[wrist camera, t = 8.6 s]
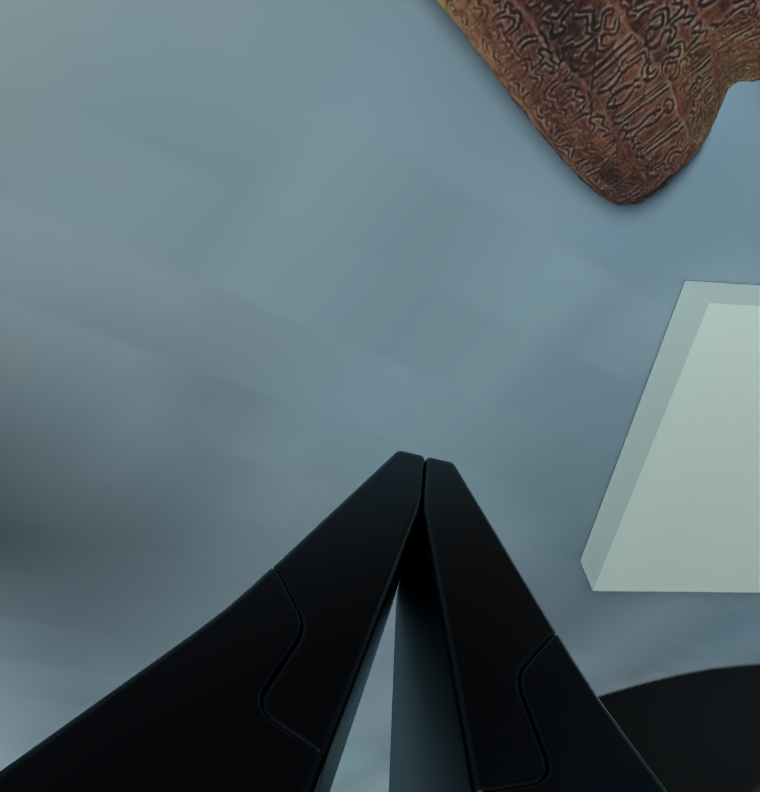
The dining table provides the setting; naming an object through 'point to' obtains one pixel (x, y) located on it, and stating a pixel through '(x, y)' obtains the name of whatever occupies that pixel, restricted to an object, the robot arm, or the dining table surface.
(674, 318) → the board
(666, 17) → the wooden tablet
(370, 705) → the dining table surface
